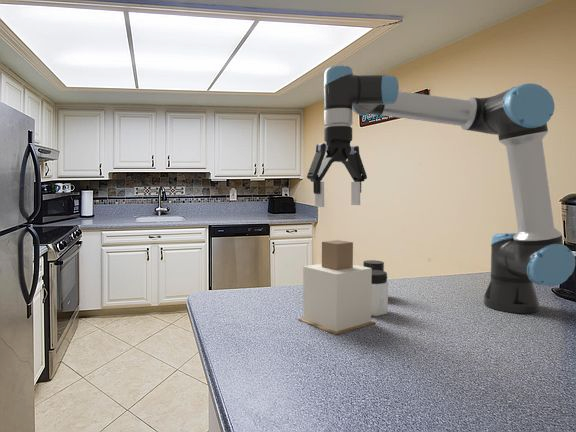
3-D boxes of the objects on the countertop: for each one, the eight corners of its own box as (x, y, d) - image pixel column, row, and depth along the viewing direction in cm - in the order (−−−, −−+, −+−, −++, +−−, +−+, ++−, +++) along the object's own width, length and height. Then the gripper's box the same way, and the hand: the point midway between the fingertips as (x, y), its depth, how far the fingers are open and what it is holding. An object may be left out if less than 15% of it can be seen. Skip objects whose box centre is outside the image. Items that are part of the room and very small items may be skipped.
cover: (371, 321, 113) (372, 242, 112) (336, 331, 105) (336, 246, 104) (337, 310, 124) (337, 238, 122) (303, 318, 116) (303, 241, 114)
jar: (371, 318, 118) (372, 276, 117) (352, 311, 124) (352, 271, 124) (393, 312, 123) (394, 272, 122) (373, 306, 129) (374, 268, 129)
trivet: (375, 323, 113) (375, 321, 113) (335, 335, 104) (335, 333, 104) (336, 310, 125) (336, 309, 125) (298, 320, 116) (298, 318, 116)
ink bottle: (393, 297, 139) (393, 262, 138) (374, 302, 134) (374, 265, 134) (371, 292, 147) (372, 258, 146) (353, 295, 142) (354, 261, 142)
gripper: (359, 131, 121) (359, 204, 123) (293, 124, 106) (293, 207, 108) (379, 128, 115) (379, 204, 117) (312, 120, 100) (312, 207, 102)
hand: (338, 206), depth 112 cm, fingers open, 13 cm apart
